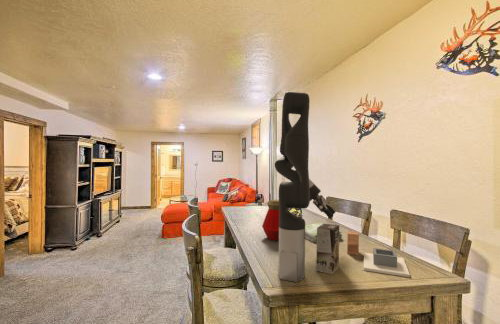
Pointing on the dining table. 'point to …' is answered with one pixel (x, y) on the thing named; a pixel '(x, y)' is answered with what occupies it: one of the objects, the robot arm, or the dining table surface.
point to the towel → (314, 232)
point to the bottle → (272, 221)
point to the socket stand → (385, 262)
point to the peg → (353, 243)
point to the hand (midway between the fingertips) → (333, 215)
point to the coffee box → (327, 248)
